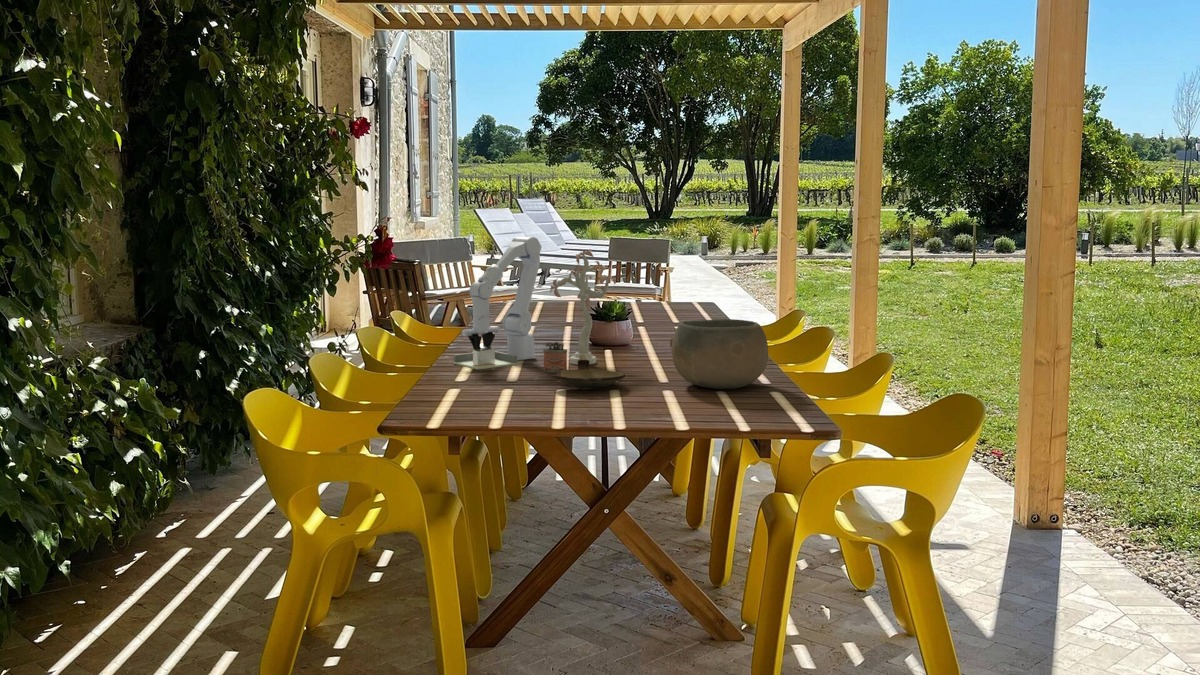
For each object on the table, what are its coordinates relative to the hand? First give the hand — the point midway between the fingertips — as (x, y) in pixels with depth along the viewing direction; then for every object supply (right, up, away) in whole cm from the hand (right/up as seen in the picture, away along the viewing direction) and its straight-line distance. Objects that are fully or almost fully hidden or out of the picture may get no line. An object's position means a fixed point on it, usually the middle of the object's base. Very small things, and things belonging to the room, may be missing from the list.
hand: (481, 354), depth 349 cm
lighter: (+26, -6, -15) cm, 31 cm away
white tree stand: (+36, -3, +4) cm, 36 cm away
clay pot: (+78, -9, -42) cm, 89 cm away
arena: (+1, -3, +1) cm, 3 cm away
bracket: (-1, -2, -2) cm, 3 cm away
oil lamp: (+38, -9, -41) cm, 57 cm away
